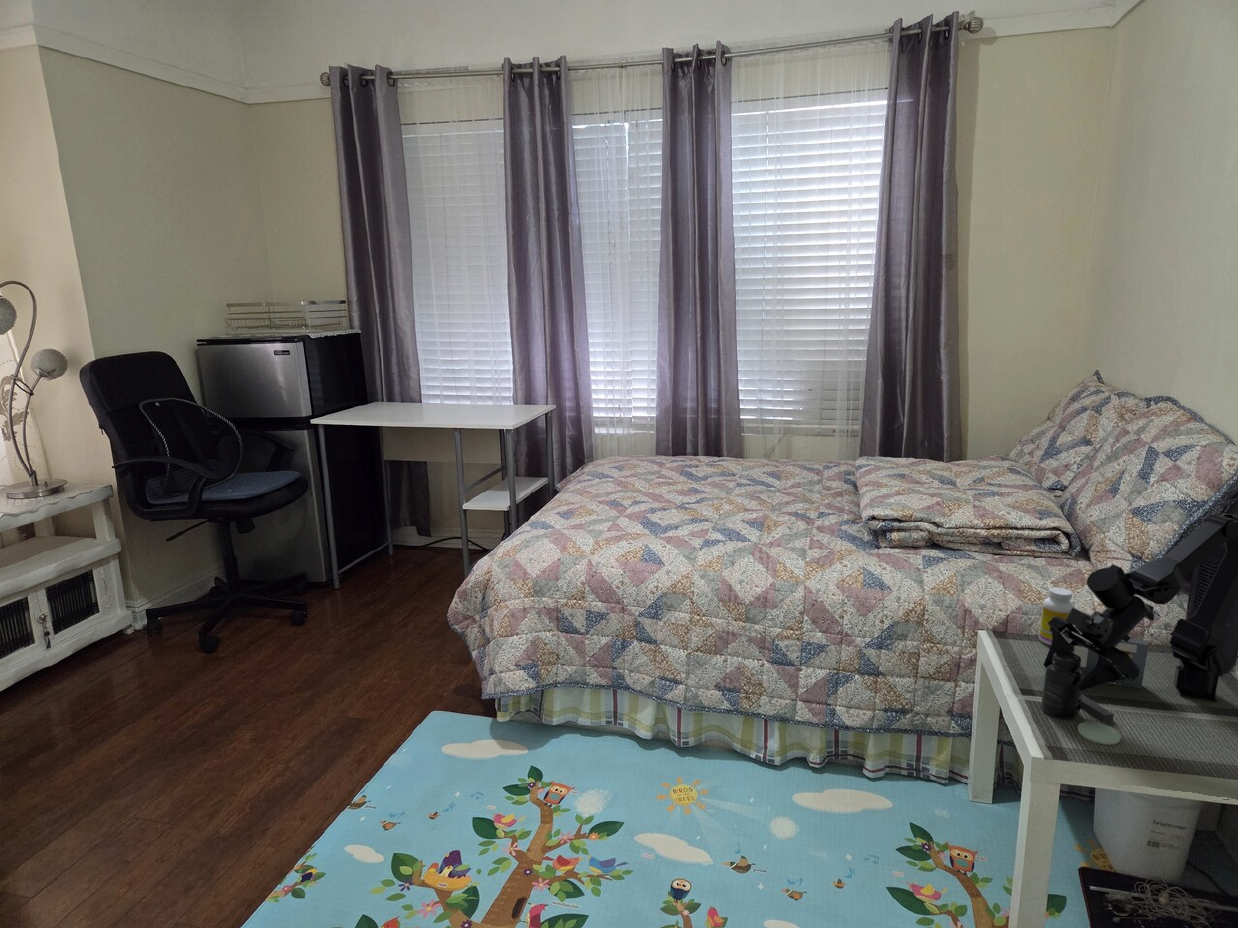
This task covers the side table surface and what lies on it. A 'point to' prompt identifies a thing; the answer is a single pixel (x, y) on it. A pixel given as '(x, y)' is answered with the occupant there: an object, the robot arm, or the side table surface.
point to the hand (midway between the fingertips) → (1061, 677)
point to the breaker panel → (1132, 647)
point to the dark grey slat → (1096, 710)
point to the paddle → (1081, 654)
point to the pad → (1099, 733)
